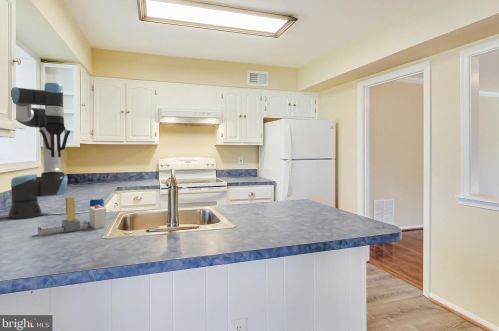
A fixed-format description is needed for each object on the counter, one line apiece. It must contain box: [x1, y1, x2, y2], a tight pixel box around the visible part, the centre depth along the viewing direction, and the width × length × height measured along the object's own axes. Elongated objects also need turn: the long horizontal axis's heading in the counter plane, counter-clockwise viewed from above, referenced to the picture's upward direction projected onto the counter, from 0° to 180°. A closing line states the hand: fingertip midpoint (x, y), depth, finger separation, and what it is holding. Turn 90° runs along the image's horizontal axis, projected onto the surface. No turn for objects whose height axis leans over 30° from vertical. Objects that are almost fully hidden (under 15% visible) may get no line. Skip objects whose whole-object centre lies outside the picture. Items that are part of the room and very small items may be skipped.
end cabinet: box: [88, 206, 107, 229], centre depth 145 cm, size 10×5×9 cm, turn 42°
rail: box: [37, 220, 88, 237], centre depth 136 cm, size 3×19×3 cm, turn 132°
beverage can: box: [89, 197, 105, 208], centre depth 155 cm, size 6×6×12 cm
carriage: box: [61, 196, 81, 233], centre depth 137 cm, size 8×6×15 cm
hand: (56, 164), depth 145 cm, fingers closed
